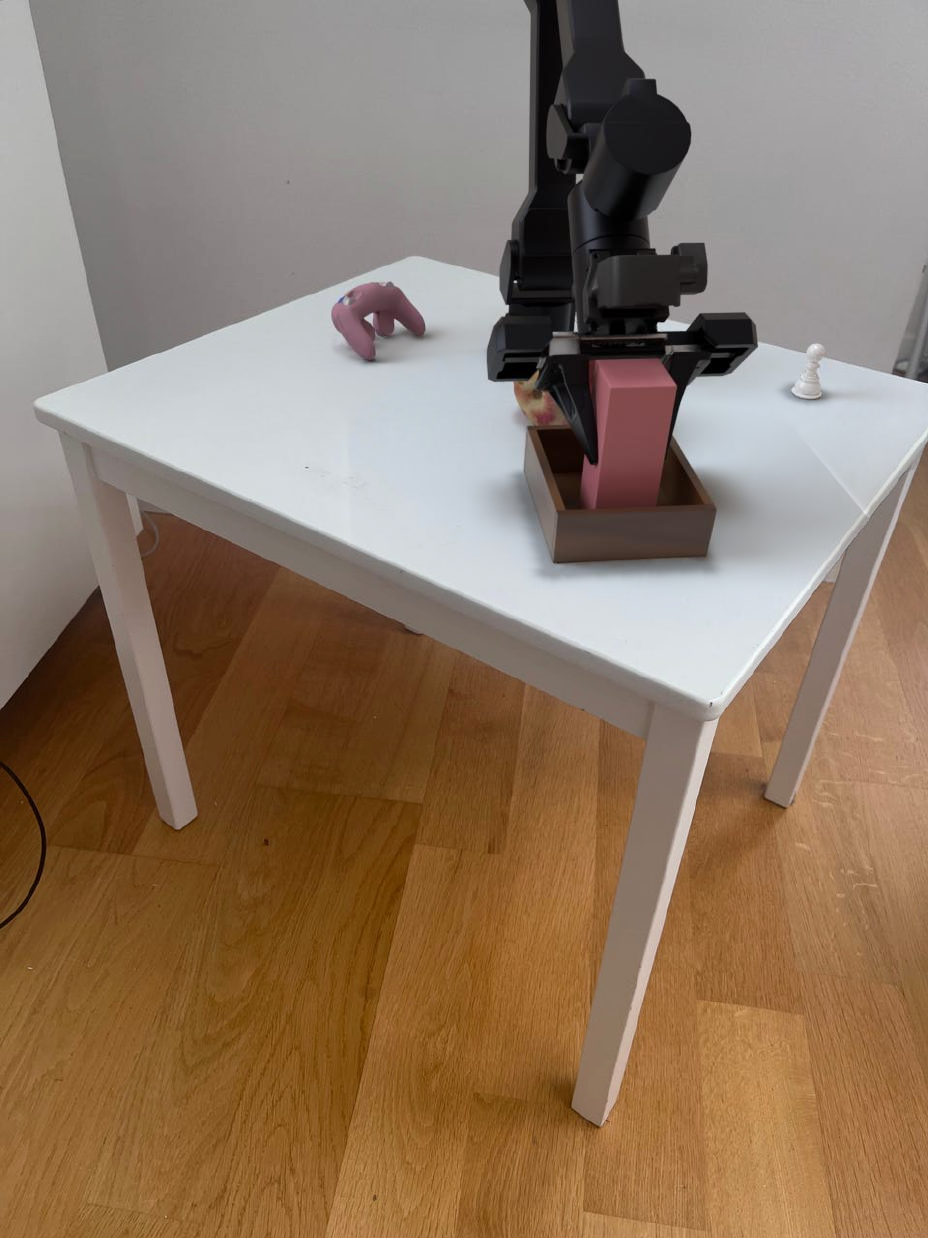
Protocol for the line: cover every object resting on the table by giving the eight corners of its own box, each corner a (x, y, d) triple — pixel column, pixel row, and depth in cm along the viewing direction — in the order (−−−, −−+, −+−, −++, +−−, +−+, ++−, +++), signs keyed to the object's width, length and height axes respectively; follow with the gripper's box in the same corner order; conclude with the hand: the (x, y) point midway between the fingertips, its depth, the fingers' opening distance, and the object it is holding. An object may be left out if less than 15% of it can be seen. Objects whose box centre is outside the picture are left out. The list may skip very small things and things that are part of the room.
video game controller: (402, 340, 104) (379, 277, 102) (432, 331, 101) (408, 265, 99) (343, 369, 98) (316, 302, 96) (372, 360, 95) (345, 291, 92)
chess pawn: (802, 401, 91) (815, 351, 88) (785, 389, 93) (797, 340, 90) (826, 397, 92) (840, 348, 89) (809, 385, 94) (822, 337, 91)
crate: (522, 478, 78) (526, 425, 75) (656, 473, 79) (664, 421, 76) (552, 571, 68) (557, 515, 65) (705, 564, 69) (717, 508, 66)
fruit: (502, 412, 88) (506, 328, 83) (580, 405, 89) (589, 322, 84) (527, 452, 82) (533, 364, 77) (610, 443, 83) (621, 357, 78)
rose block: (578, 505, 74) (595, 359, 66) (635, 503, 74) (659, 357, 67) (590, 538, 70) (610, 387, 63) (651, 535, 70) (677, 385, 63)
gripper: (499, 194, 60) (515, 431, 58) (780, 192, 62) (803, 422, 60) (480, 276, 71) (493, 478, 69) (718, 273, 73) (737, 469, 71)
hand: (628, 462), depth 67 cm, fingers closed on rose block, 4 cm apart
